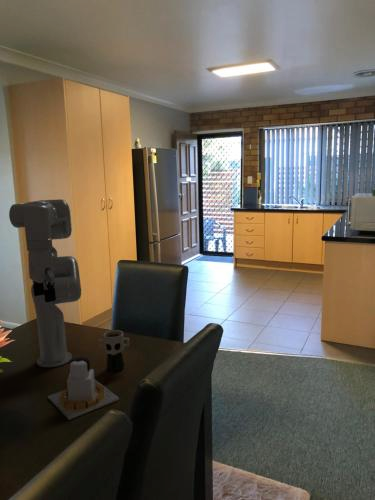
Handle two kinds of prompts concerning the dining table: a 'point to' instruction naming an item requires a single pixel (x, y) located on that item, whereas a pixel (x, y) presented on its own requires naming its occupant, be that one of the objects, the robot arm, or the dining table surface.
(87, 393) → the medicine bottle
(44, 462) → the dining table surface
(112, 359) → the character mug
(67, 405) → the white square ringed board
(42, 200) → the robot arm
